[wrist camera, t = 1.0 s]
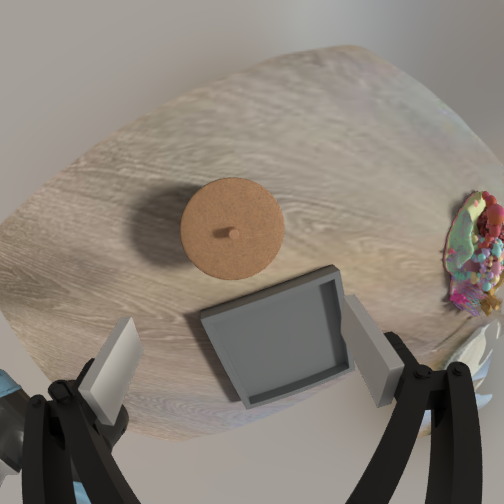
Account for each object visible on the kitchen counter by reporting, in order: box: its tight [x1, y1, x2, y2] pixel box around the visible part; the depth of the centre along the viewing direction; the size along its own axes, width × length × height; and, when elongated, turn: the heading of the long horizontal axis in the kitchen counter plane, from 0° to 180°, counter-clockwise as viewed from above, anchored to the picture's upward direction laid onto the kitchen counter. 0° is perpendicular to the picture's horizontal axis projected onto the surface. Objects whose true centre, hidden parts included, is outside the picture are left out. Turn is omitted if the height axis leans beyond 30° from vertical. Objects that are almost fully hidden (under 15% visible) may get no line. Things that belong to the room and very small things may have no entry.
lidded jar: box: [180, 178, 284, 280], centre depth 31 cm, size 11×11×9 cm
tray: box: [200, 264, 355, 409], centre depth 40 cm, size 20×20×2 cm
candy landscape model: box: [444, 191, 504, 316], centre depth 40 cm, size 25×24×9 cm
